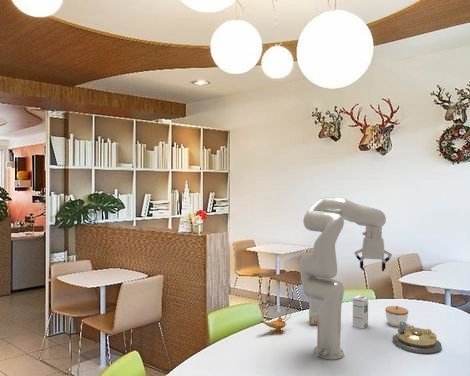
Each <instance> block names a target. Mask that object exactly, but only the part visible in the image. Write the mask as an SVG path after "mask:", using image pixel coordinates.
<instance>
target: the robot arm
mask: <svg viewBox="0 0 470 376" xmlns="http://www.w3.org/2000/svg"><path fill="white" fill-rule="evenodd" d="M386 220H387V217H386V214H385V212H384V211H382V210H381V209H378V208H374V207H370V206H366V205H364V204H359V203H355V202H353V201H351V200H349V199H346V198H343V197H333V196H324V197H321V198H320V199H318V200H317V201H316V202H315V203H314V204H313V205H312V206H311V207H310V208H309V209H308V210H307V211H306V212H305V214H304V217H303V226H304V227H305V229H306V230H308V231H312V232H319V233H320V234H319V236H318V237H317V238H316V240H314V244H313V252H305V253H304V254H303V255H302V256H301V258H300V261H299V273H300V280H301V286H302V291H303V293H304V295H305V296H306V297H308V298H309V297H310V298H314V299H318V300H321V301H323V304H322V305H321V307H320V308H319V310H318V325H317V332H316V333H317V337H316V338H317V339H316V340H317V341H316V344H317V345H316V346H314V348H313V354H314V355H315V356H316V357H318V356H319V357H318V358H320V359H321V358H322V359H324V360H338V359H341V358H343V357H344V356H345V351H344V349H342V348H341V330H342V327H341V326H342V325H341V324H342V304H343V300H344V294H345V287H344V285H343V283H342V282H340V281H339V280H337V279H333V278H335V277H336V276H337V274H338V263H337V254H336V243H337V240H338V238H339V236H340V234H341V232H342V230H343V227H344V224H345V222H344V221H347V222H350V223H355V224H356V225H358V226H360V227H361V226H363V227H365V231H362V234H361V235H362V236H364V237H363V240H362V246H361V247H362V248H360V249H358V250H356V251H354V255H355V257H356V259H357V260H358V261H359V268H360V269H361V271H363V270H364V260H365V259H367V260H368V259H369V260H380V261H382V262H381V271H382V272H384V271H385V270H386V265H387V262H389V261H390V259H391V257H392V255H393V254H392V253H391V252H389V251H387V250H385V241H384V238H383V235H382V234H383V231H382V230H383V227H384V225H385V224H386V222H387V221H386ZM359 254H361V256H360V255H359ZM385 255H387V257H385Z"/></svg>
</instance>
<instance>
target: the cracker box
mask: <svg viewBox="0 0 470 376" xmlns="http://www.w3.org/2000/svg"><path fill="white" fill-rule="evenodd" d="M308 299H309V301H308V304H309V305H308V306H309V307H308V309H309V310H308V311H309V312H308V322H309V326H318V310H319V308H320V307H321V305H322V304H323V301H321V300H318V299H314V298H310V297H308Z"/></svg>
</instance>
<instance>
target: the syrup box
mask: <svg viewBox="0 0 470 376" xmlns="http://www.w3.org/2000/svg"><path fill="white" fill-rule="evenodd" d="M368 322H369V297H368V296H364V295H356V296H355V297H353V298H352V327H354V328H356V329H357V328H359V329H362V330H364V329H365V328H367V327H368V326H369V323H368Z"/></svg>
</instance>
